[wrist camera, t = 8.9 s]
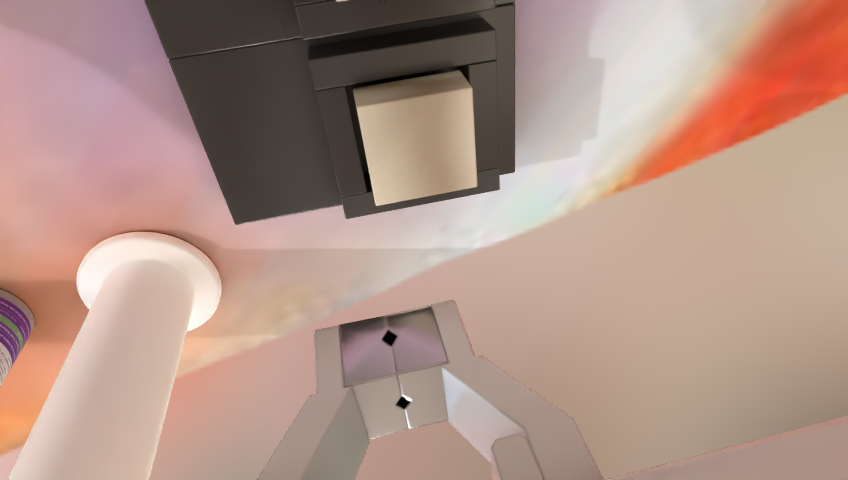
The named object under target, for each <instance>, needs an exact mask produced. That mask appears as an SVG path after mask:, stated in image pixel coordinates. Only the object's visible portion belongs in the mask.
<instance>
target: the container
mask: <svg viewBox="0 0 848 480" xmlns="http://www.w3.org/2000/svg"><path fill="white" fill-rule="evenodd" d="M33 328H34V317H33V315H32V313H31V311H30V309H29V308H28V307H27V306H26V304H24V303H23V302H22V301H21V300H20V299H19V298H17V297H15V296H14V295H12V294H10V293H8V292H6V291H4V290H1V289H0V386H1V384H2V383H3V381H4V379H5V378H6V376H7V374H8V372H9V371H10V369H11V367H12V365H13V364H14V362H15V360H16V359H17V357H18V355H19V353H20V352H21V350H22V348H23V346H24V345H25V343H26V341H27V340H28V338H29V336H30V334H31V332H32V330H33Z"/></svg>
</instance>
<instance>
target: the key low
mask: <svg viewBox="0 0 848 480" xmlns="http://www.w3.org/2000/svg"><path fill="white" fill-rule="evenodd" d="M353 93H354V98H355V103H356V108H357V114H358V119H359V124H360V129H361V134H362V139H363V144H364V149H365V154H366V159H367V164H368V169H369V174H370V180H371V185H372V190H373V195H374V200H375V204H376V206H379V205H384V204H389V203H395V202H400V201H405V200H410V199H416V198H421V197H426V196H431V195H437V194H442V193H447V192H452V191H458V190H463V189H468V188H473V187H477V167H476V148H475V128H474V108H473V89H472V87H471V85H470V84H469V83H468V81H467V80H466V78H465V77H464V76H463V74H462V73H461V71H459V70H458V71H452V72H446V73H440V74H434V75H429V76H423V77H417V78H411V79H405V80H399V81H394V82H388V83H382V84H376V85H370V86H364V87H359V88H354V89H353Z"/></svg>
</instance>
